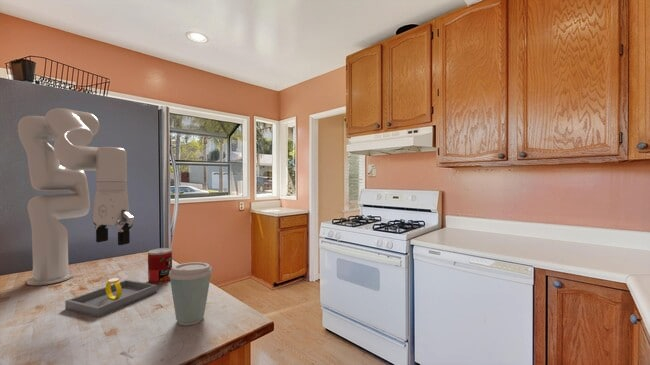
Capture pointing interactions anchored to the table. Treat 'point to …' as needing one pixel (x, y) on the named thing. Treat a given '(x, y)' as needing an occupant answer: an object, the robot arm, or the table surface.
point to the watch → (118, 288)
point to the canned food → (159, 265)
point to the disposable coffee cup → (190, 291)
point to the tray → (101, 304)
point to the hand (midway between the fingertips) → (112, 242)
